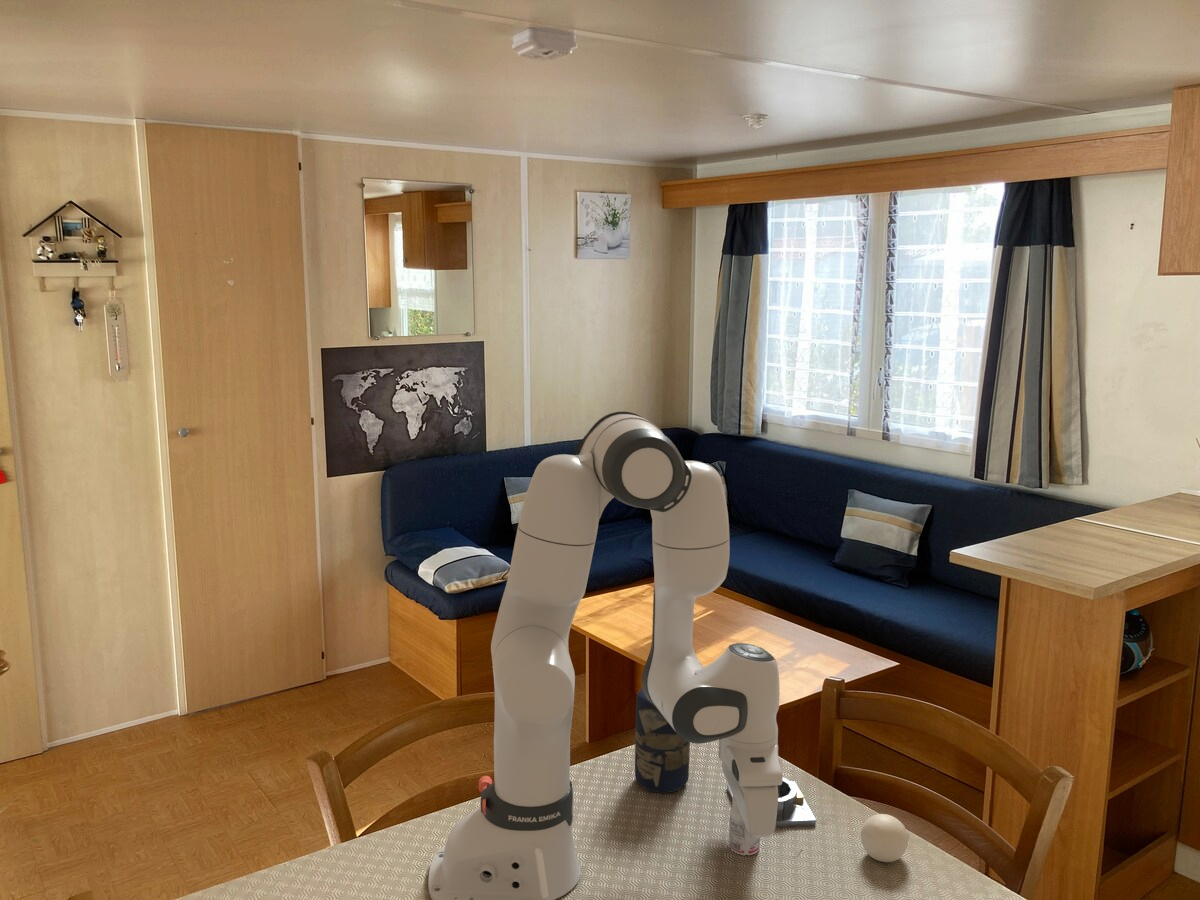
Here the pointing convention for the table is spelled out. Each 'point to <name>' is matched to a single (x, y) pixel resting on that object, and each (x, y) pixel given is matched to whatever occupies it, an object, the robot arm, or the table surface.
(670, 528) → the robot arm
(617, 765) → the table surface
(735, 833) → the pill bottle
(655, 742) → the canister
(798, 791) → the lock socket
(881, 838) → the beige sphere
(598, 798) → the table surface
